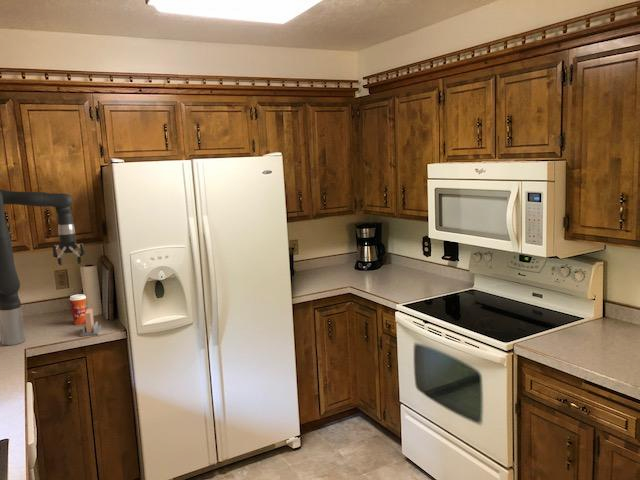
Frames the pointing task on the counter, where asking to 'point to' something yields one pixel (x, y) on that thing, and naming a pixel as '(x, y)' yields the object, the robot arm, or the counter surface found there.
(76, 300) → the coffee cup
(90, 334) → the blue grey crystal cluster
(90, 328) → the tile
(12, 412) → the counter surface
